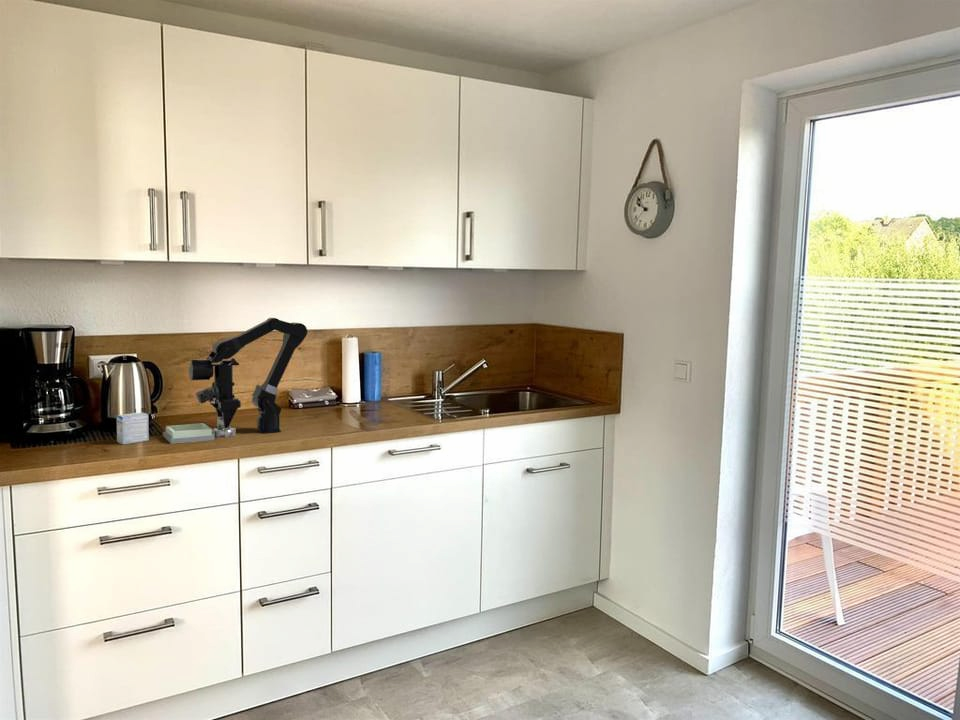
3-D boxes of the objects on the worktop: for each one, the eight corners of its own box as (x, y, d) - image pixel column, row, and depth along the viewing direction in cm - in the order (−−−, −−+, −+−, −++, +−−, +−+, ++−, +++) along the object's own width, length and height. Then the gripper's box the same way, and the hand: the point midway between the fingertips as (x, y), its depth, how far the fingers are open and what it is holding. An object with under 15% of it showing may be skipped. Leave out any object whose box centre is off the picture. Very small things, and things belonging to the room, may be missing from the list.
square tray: (205, 432, 236) (205, 422, 235) (214, 439, 225) (214, 429, 225) (163, 436, 228) (163, 425, 228) (171, 443, 218) (170, 432, 217)
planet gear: (232, 432, 238) (232, 414, 237) (238, 436, 232) (238, 418, 231) (209, 434, 234) (209, 416, 233) (215, 438, 228) (215, 419, 227)
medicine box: (142, 439, 224) (141, 412, 223) (149, 441, 221) (148, 413, 220) (116, 442, 218) (116, 415, 217) (123, 444, 215) (122, 416, 214)
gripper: (191, 377, 234) (191, 423, 236) (204, 383, 219) (205, 433, 220) (225, 375, 241) (226, 420, 242) (241, 382, 225) (241, 430, 227)
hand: (223, 426), depth 233 cm, fingers open, 6 cm apart
